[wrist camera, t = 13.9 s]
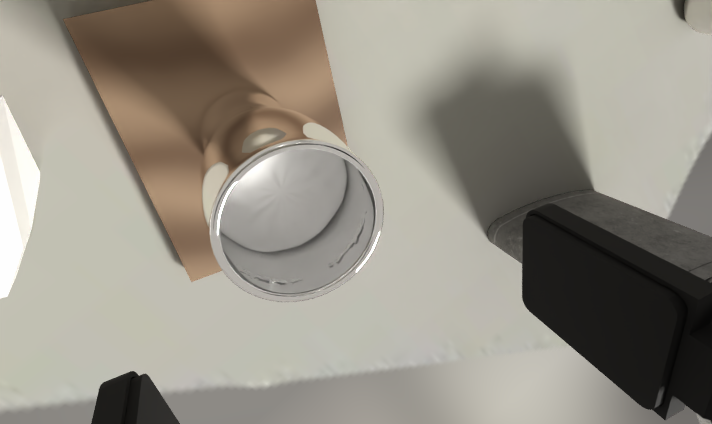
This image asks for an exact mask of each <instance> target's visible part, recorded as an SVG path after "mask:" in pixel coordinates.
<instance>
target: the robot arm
mask: <svg viewBox="0 0 712 424" xmlns="http://www.w3.org/2000/svg"><path fill="white" fill-rule="evenodd" d="M522 298H523V302H524V304H525V306H526V308H527V309H528V310H529V311H530V312H531V313H532V314H533V315H535V316H536V317H537V318H538V319H539V320H540V321H542V322H543V323H544V324H545V325H546V326H548V327H549V328H550V329H551V330H552V331H553V332H555V333H556V334H557V335H558V336H559V337H560V338H562V339H563V340H564V341H565V342H566V343H568V344H569V345H570V346H571V347H572V348H573V349H575V350H576V351H577V352H578V353H579V354H581V355H582V356H583V357H584V358H585V359H586V360H588V361H589V362H590V363H591V364H592V365H594V366H595V367H596V368H597V369H598V370H599V371H600V372H602V373H603V374H604V375H605V376H606V377H608V378H609V379H610V380H611V381H612V382H613V383H615V384H616V385H617V386H618V387H619V388H621V389H622V390H623V391H624V392H625V393H626V394H628V395H629V396H630V397H631V398H632V399H633V400H635V401H636V402H637V403H638V404H639V405H641V406H642V407H644V408H646V409H650V410H651V409H652V410H654V411H655V412H656V413H657V414H658V415H659V416H661V417H662V418H663V419H664V420H667V419H668V418H670V417H672V416H673V415H675V414H677V413H679V412H680V411H682V410H684V407H685V405H686V406H688V407H689V408H690V409H692V410H693V411H694V412H695V413H696V415H697V418H698V420H699V423H700V424H712V283H710V282H708V281H706V280H704V279H702V278H700V277H698V276H696V275H694V274H692V273H690V272H688V271H686V270H684V269H682V268H680V267H678V266H676V265H674V264H672V263H670V262H668V261H666V260H664V259H662V258H660V257H658V256H656V255H654V254H652V253H650V252H648V251H646V250H644V249H642V248H640V247H638V246H636V245H634V244H632V243H630V242H628V241H626V240H624V239H622V238H621V237H619V236H617V235H615V234H613V233H611V232H609V231H607V230H605V229H603V228H601V227H599V226H597V225H595V224H593V223H591V222H589V221H587V220H585V219H583V218H581V217H579V216H577V215H575V214H573V213H571V212H569V211H567V210H565V209H563V208H561V207H559V206H557V205H555V204H552V203H547V204H545V205H542V206H540V207H537V208H535V209H532V210H530V211H529V212H528V213H527V215H526V219H524V221H523V250H522ZM91 424H180V423H179V422H178V420H177V419H176V417H175V416H174V414H173V413H172V411H171V409H170V408H169V406H168V405H167V403H166V402H165V400H164V399H163V397H162V396H161V394H160V392H159V391H158V389H157V388H156V386H155V385H154V383H153V382H152V380H151V379H150V377H149V376H148V375H147V374H142V375H140V376H139V375H138V374H137V373H136V372H134V371H131V372H128V373H126V374H123V375H121V376H118V377H116V378H113V379H111V380H108V381H106V382H104V383H102V384H101V386H100V389H99V392H98V397H97V401H96V406H95V410H94V415H93V419H92V423H91Z"/></svg>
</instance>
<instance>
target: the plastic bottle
mask: <svg viewBox="0 0 712 424" xmlns="http://www.w3.org/2000/svg"><path fill="white" fill-rule="evenodd" d="M684 15H685V19H686V22H687V23H688V25H689V26H690V27H692V28H693V29H694V30H695V31H696V32H699V33H703V34H708V35H712V0H685V5H684Z"/></svg>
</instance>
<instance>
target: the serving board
mask: <svg viewBox="0 0 712 424" xmlns="http://www.w3.org/2000/svg"><path fill="white" fill-rule="evenodd" d="M63 21H64V23H65V25H66V27H67V29H68V31H69V33H70V35H71V37H72V39H73V41H74V43H75V45H76V47H77V49H78V51H79V53H80V55H81V57H82V59H83V61H84V63H85V65H86V67H87V69H88V72H89V74H90V76H91V78H92V80H93V82H94V84H95V86H96V88H97V90H98V92H99V94H100V96H101V98H102V100H103V102H104V104H105V106H106V108H107V110H108V112H109V114H110V116H111V118H112V121H113V123H114V125H115V127H116V129H117V131H118V133H119V135H120V137H121V139H122V141H123V143H124V145H125V147H126V149H127V151H128V153H129V155H130V157H131V159H132V161H133V163H134V165H135V167H136V169H137V172H138V174H139V176H140V178H141V180H142V182H143V184H144V186H145V188H146V190H147V192H148V194H149V196H150V198H151V200H152V202H153V204H154V206H155V208H156V210H157V212H158V214H159V216H160V218H161V221H162V223H163V225H164V227H165V229H166V231H167V233H168V235H169V237H170V239H171V241H172V243H173V245H174V247H175V249H176V251H177V253H178V255H179V257H180V259H181V261H182V263H183V265H184V267H185V270H186V272H187V274H188V276H189V278H190V280H191V282H193V281H195V280H198V279H201V278H203V277H206V276H209V275H211V274H214V273H217V272H219V271H222V269H221V268H220V266H219V264H218V263H217V261H216V258H215V256H214V253H213V250H212V246H211V241H210V237H209V235H208V232H207V229H206V226H205V222H204V219H203V215H202V211H201V205H200V200H199V168H200V164H201V160H202V157H203V154H204V151H203V149H202V145H201V141H200V127H201V122H202V119H203V117H204V115H205V113H206V111H207V109H208V108H209V107H210V106H211V104H212V103H213V102H214V101H216V100H217V99H218V98H220V97H221V96H223V95H225V94H228V93H230V92H233V91H238V90H254V91H258V92H261V93H264V94H266V95H268V96H270V97H272V98H273V99H274V100H276V101H277V102H278V103H279V104H280V105H281V106H282V107H283V108H285V109H290V110H294V111H297V112H300V113H302V114H304V115H307V116H308V117H310V118H312V119H314V120H315V121H317V122H319V123H321V124H322V125H324V126H325V127H326V128H328V129H329V130H330V131H331V132H332V133H334V134H335V135H336V136H337V137H338V138H339V139H341V140H342V141H343V142H344V143H345V145H346V146H347V141H346V137H345V132H344V128H343V123H342V118H341V114H340V109H339V105H338V100H337V96H336V91H335V87H334V82H333V78H332V73H331V69H330V64H329V60H328V55H327V51H326V46H325V42H324V37H323V33H322V28H321V23H320V19H319V14H318V10H317V5H316V1H315V0H151V1H147V2H142V3H137V4H132V5H128V6H123V7H118V8H113V9H109V10H104V11H99V12H94V13H90V14H85V15H80V16H75V17H71V18H66V19H63ZM347 147H348V146H347Z"/></svg>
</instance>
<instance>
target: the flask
mask: <svg viewBox="0 0 712 424" xmlns="http://www.w3.org/2000/svg"><path fill="white" fill-rule="evenodd" d="M547 203H552V204H555V205H557V206H559V207H561V208H563V209H565V210H567V211H569V212H571V213H573V214H575V215H577V216H579V217H581V218H583V219H585V220H587V221H589V222H591V223H593V224H595V225H597V226H599V227H601V228H603V229H605V230H607V231H609V232H611V233H613V234H615V235H617V236H619V237H621V238H622V239H624V240H626V241H628V242H630V243H632V244H634V245H636V246H638V247H640V248H642V249H644V250H646V251H648V252H650V253H652V254H654V255H656V256H658V257H660V258H662V259H664V260H666V261H668V262H670V263H672V264H674V265H676V266H678V267H680V268H682V269H684V270H686V271H688V272H690V273H692V274H694V275H696V276H698V277H700V278H702V279H704V280H706V281H708V282H710V283H712V237H710V236H708V235H705V234H702V233H700V232H697V231H695V230H692V229H690V228H687V227H685V226H682V225H680V224H677V223H675V222H672V221H670V220H667V219H664V218H662V217H659V216H657V215H654V214H652V213H649V212H647V211H644V210H642V209H639V208H637V207H634V206H632V205H629V204H626V203H624V202H621V201H619V200H616V199H614V198H611V197H609V196H606V195H604V194H601V193H599V192H596V191H594V190H581V191H574V192H569V193H564V194H560V195H556V196H553V197H549V198H546V199H543V200H540V201H537V202H534V203H532V204H529V205H527V206H524V207H522V208H519V209H517V210H515V211H513V212H511V213H509V214H507V215H505V216H503V217H501V218H499V219H497V220H496V221H494V222H493V223H492V225H491V226H490V228H489V230H488V239H489V241H490V242H491V243H493V244H494V245H496V246H497V247H499V248H500V249H502V250H503V251H504V252H506V253H507V254H509V255H510V256H512V257H513V258H515V259H516V260H517V261H519V262H520V263H522V250H523V221H524V219H526V215H527V213H528V212H529V211H530V210H532V209H535V208H537V207H540V206H542V205H545V204H547Z"/></svg>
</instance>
